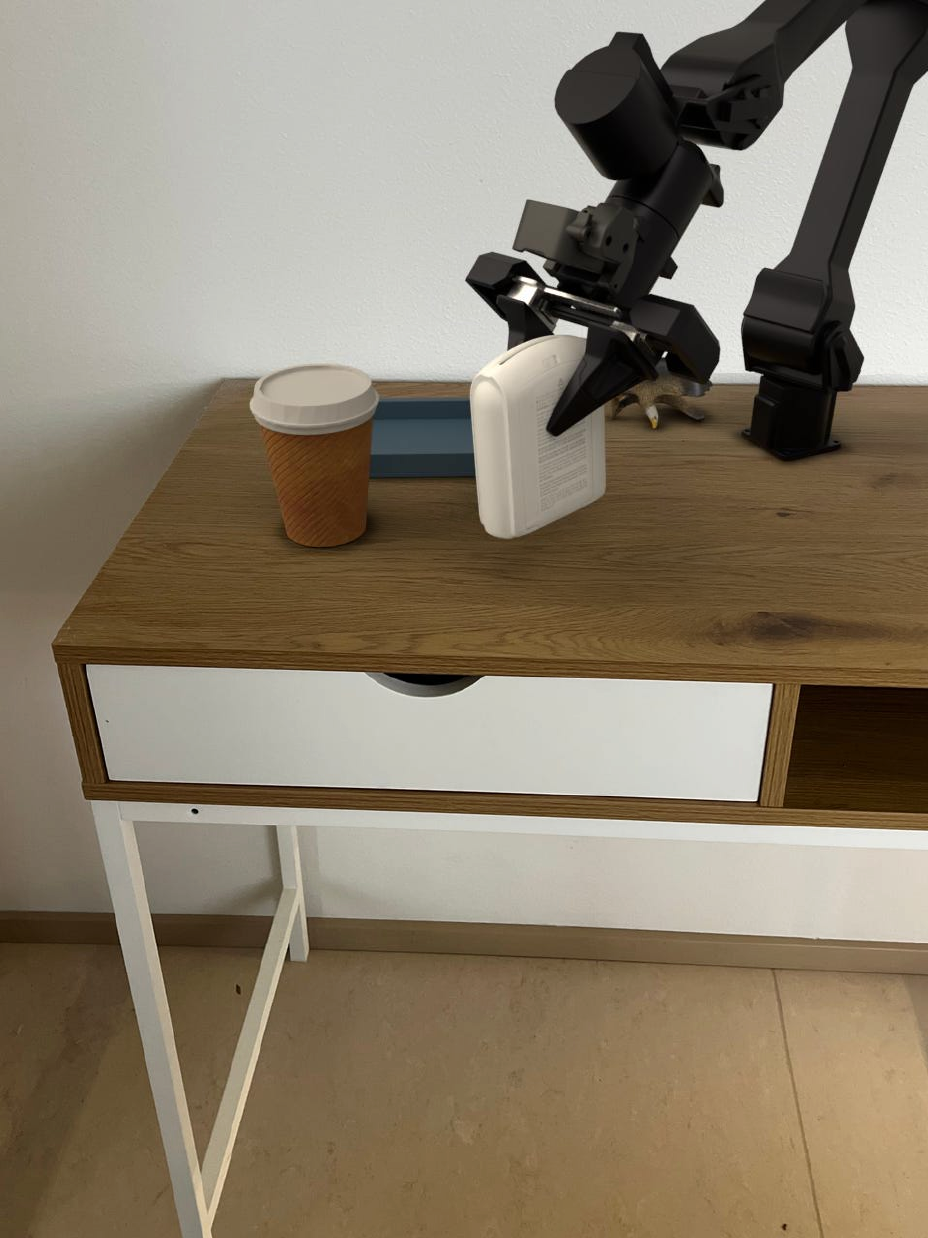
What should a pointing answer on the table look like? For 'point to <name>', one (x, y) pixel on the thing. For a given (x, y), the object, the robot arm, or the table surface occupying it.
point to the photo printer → (533, 439)
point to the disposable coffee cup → (318, 448)
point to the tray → (422, 438)
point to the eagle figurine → (661, 394)
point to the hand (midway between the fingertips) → (525, 423)
